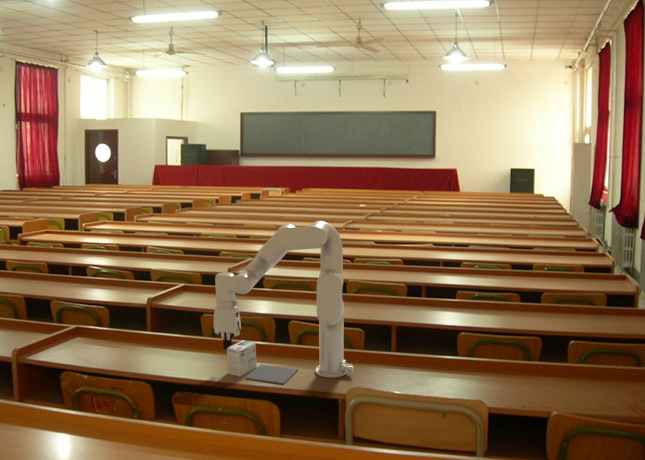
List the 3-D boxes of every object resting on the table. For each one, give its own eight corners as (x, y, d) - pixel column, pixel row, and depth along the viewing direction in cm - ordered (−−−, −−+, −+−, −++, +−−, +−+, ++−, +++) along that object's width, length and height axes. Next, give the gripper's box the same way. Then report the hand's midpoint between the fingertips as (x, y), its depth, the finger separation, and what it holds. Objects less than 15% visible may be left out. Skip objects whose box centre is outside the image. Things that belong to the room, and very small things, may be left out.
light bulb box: (243, 364, 252) (243, 339, 251) (257, 367, 249) (256, 342, 247) (226, 373, 243) (226, 347, 242) (240, 377, 240) (239, 350, 238)
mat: (297, 370, 246) (297, 369, 246) (284, 384, 233) (284, 383, 233) (261, 365, 251) (261, 364, 251) (245, 378, 238) (245, 377, 238)
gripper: (247, 303, 245) (248, 347, 248) (213, 299, 250) (215, 343, 253) (238, 308, 238) (240, 353, 241) (204, 304, 243) (206, 349, 246)
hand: (227, 348), depth 247 cm, fingers closed
